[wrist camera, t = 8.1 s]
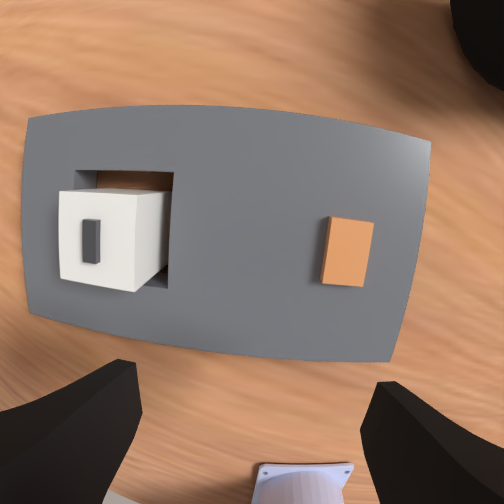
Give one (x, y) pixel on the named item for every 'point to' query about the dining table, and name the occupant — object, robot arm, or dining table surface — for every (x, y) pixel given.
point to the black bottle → (481, 36)
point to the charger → (113, 236)
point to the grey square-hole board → (240, 228)
